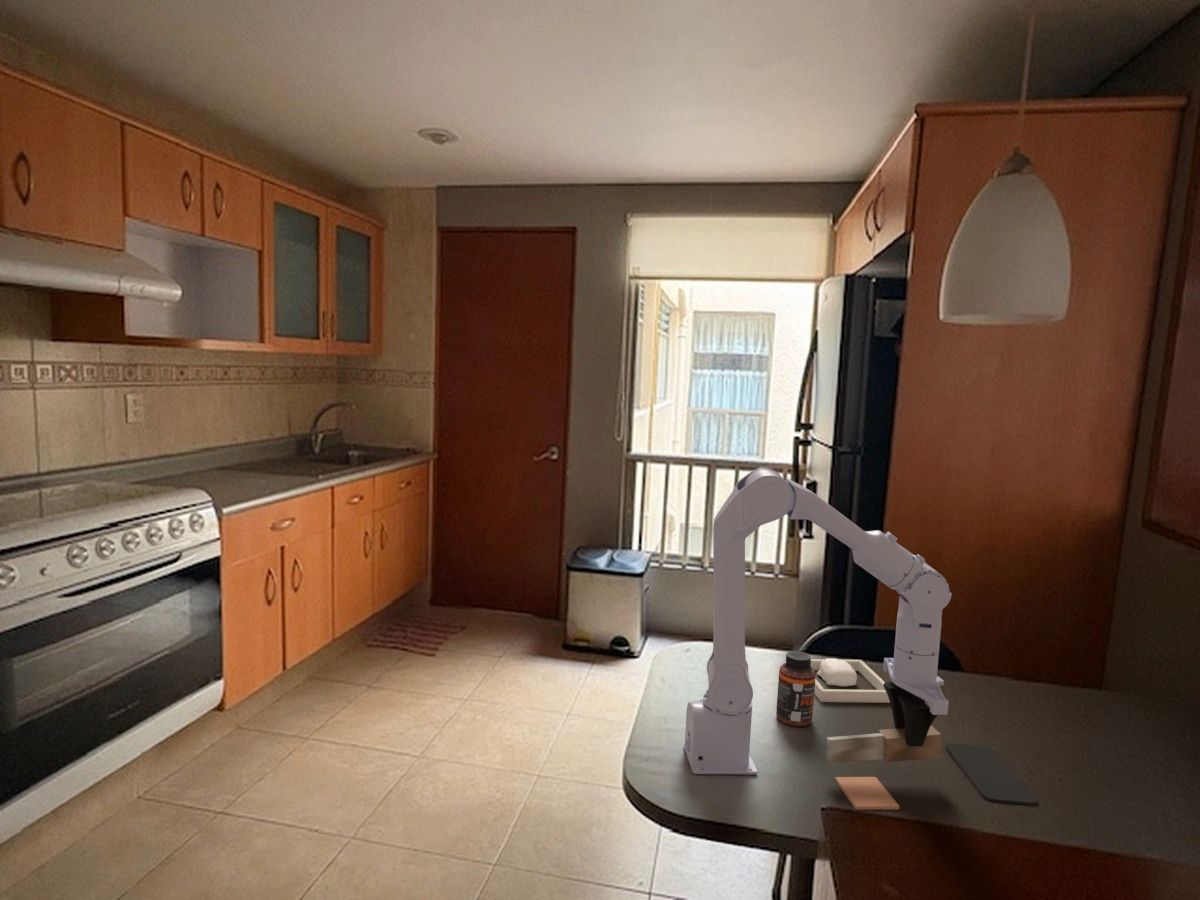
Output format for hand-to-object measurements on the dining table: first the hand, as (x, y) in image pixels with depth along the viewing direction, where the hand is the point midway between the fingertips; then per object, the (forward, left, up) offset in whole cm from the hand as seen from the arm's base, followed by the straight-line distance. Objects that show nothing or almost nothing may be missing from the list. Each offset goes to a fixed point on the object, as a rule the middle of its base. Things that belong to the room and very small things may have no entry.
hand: (908, 739), depth 100 cm
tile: (-7, 0, -6) cm, 10 cm away
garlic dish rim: (+4, +32, -6) cm, 33 cm away
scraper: (-4, 0, -3) cm, 5 cm away
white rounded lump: (+4, +34, -7) cm, 35 cm away
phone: (+14, +2, -7) cm, 15 cm away
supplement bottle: (-10, +18, -6) cm, 22 cm away
